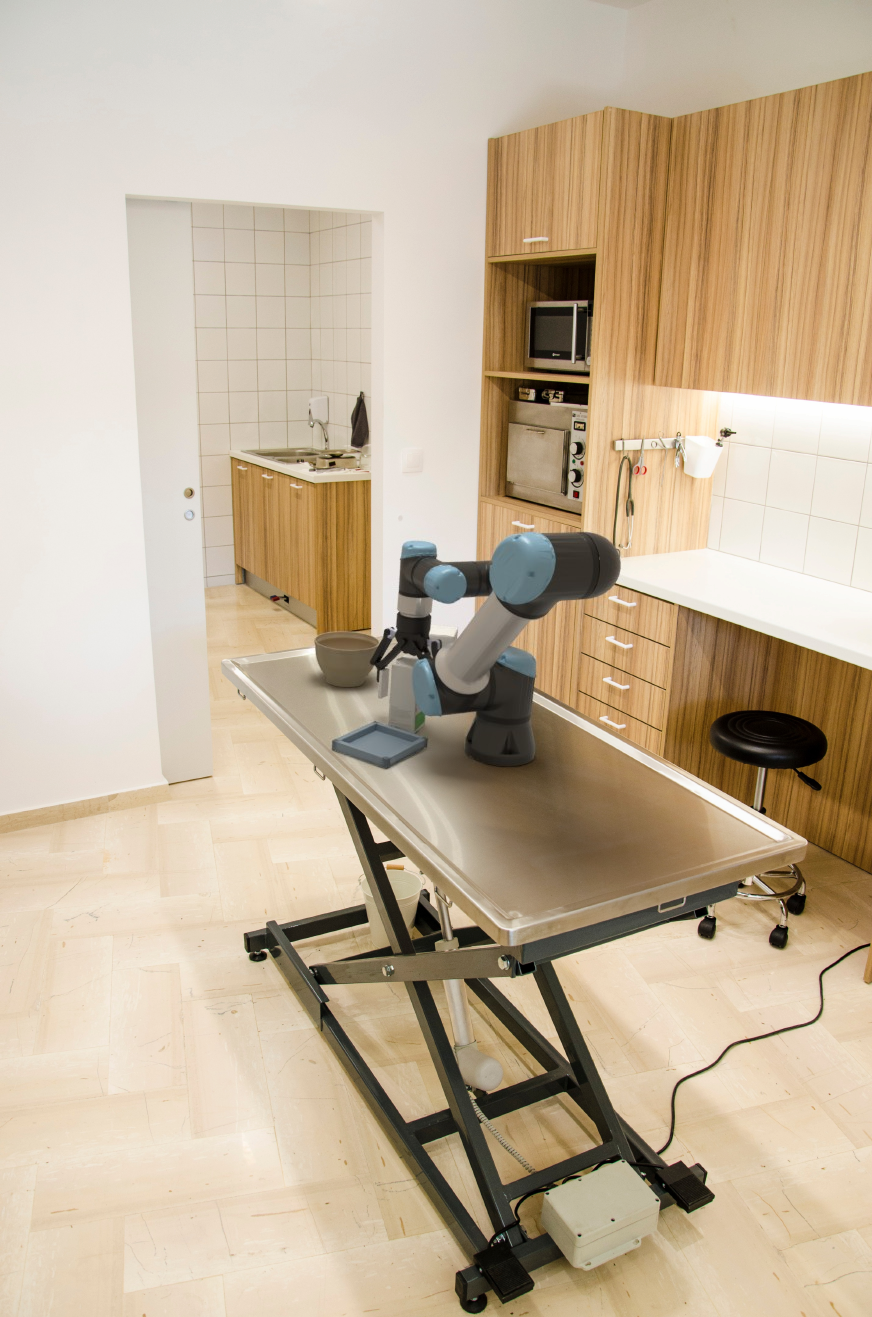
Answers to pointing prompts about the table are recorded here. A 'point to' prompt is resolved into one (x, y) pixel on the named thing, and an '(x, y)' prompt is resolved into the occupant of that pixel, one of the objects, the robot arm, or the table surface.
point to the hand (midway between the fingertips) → (407, 704)
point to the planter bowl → (345, 656)
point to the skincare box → (404, 697)
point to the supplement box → (443, 634)
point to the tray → (379, 744)
